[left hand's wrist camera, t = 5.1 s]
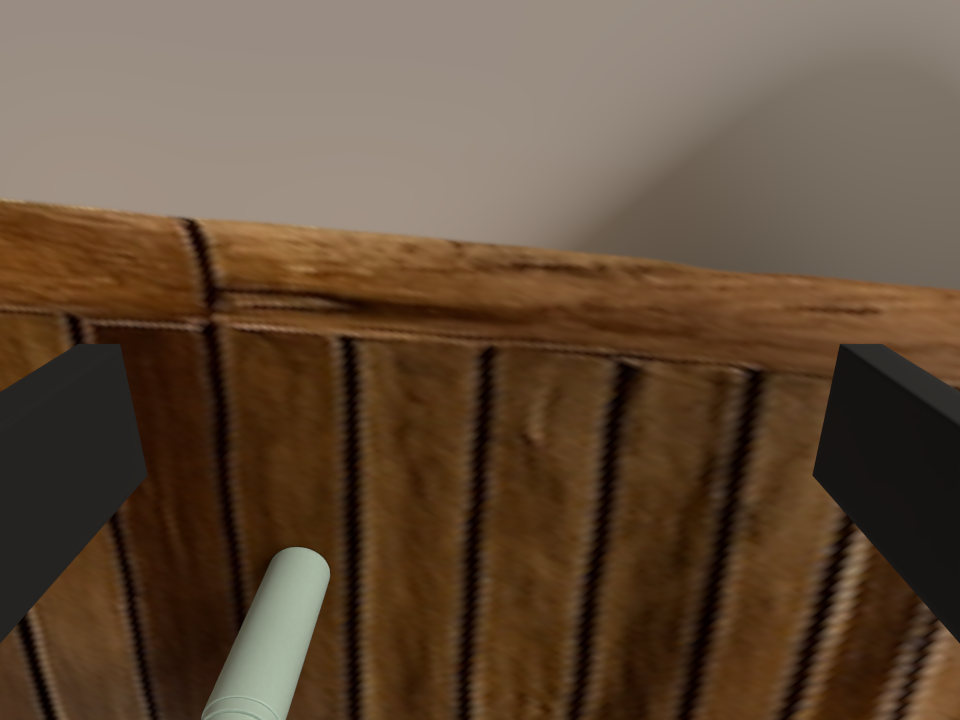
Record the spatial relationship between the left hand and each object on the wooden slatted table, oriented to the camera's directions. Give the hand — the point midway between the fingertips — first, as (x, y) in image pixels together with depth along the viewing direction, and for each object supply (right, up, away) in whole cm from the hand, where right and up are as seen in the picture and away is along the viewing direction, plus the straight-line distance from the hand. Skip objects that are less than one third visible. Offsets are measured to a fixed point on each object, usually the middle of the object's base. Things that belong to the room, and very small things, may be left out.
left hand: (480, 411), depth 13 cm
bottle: (-13, -14, +36) cm, 41 cm away
